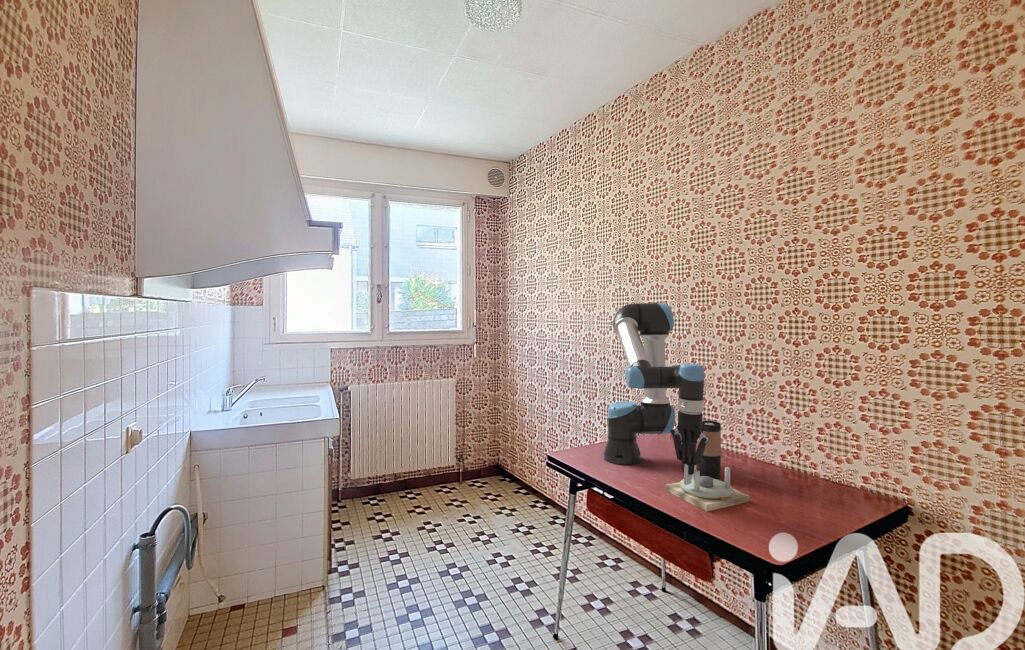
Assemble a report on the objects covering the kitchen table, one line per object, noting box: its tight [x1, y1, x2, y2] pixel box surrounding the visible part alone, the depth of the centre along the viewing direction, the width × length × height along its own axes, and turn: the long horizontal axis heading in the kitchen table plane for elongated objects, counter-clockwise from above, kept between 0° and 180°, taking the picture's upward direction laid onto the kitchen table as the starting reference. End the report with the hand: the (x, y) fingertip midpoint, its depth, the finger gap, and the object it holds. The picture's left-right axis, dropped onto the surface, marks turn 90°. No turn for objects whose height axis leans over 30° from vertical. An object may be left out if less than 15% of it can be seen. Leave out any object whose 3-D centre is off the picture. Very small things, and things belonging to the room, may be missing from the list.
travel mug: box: [697, 420, 722, 480], centre depth 169 cm, size 8×8×20 cm
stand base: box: [665, 481, 750, 513], centre depth 151 cm, size 18×18×3 cm
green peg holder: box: [679, 465, 734, 499], centre depth 151 cm, size 16×16×8 cm
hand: (687, 483), depth 149 cm, fingers closed
